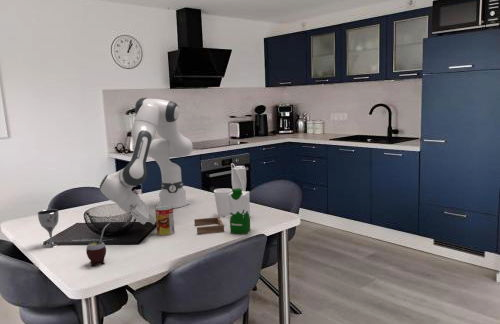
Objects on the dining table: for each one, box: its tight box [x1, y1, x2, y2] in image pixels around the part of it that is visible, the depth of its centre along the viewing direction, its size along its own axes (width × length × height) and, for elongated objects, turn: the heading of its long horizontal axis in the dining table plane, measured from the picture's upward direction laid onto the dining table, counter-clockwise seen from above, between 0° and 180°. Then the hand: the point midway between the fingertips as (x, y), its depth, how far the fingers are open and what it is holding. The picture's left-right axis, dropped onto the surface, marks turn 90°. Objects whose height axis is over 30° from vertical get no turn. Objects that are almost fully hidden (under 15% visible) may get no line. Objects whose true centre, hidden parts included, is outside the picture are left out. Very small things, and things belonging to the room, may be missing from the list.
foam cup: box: [213, 187, 233, 217], centre depth 219 cm, size 10×9×13 cm
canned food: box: [154, 205, 175, 237], centre depth 193 cm, size 8×8×12 cm
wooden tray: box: [193, 216, 225, 236], centre depth 198 cm, size 14×12×3 cm
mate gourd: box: [85, 222, 111, 267], centre depth 159 cm, size 8×8×15 cm
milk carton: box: [228, 188, 251, 235], centre depth 191 cm, size 9×9×20 cm
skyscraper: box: [230, 163, 247, 191], centre depth 211 cm, size 8×8×28 cm
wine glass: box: [37, 208, 59, 249], centre depth 182 cm, size 8×8×15 cm
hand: (154, 222), depth 192 cm, fingers closed, pressing on canned food
